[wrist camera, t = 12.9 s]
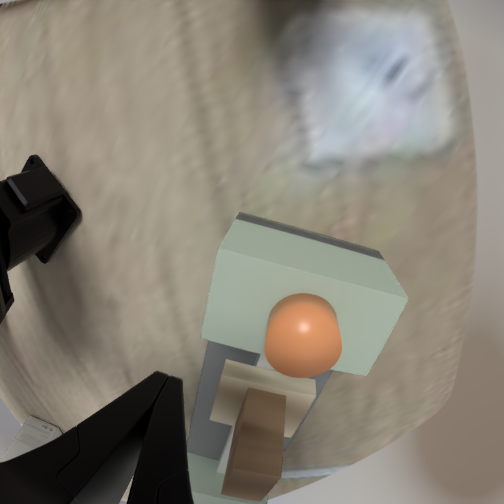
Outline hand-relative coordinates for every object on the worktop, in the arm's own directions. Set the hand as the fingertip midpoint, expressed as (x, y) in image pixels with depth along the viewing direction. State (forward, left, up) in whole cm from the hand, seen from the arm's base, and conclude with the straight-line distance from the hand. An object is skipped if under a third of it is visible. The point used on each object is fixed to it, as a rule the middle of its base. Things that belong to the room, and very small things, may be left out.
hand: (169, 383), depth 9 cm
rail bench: (-8, -11, -12) cm, 18 cm away
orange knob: (+2, -4, -8) cm, 9 cm away
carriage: (-5, -9, -9) cm, 13 cm away
